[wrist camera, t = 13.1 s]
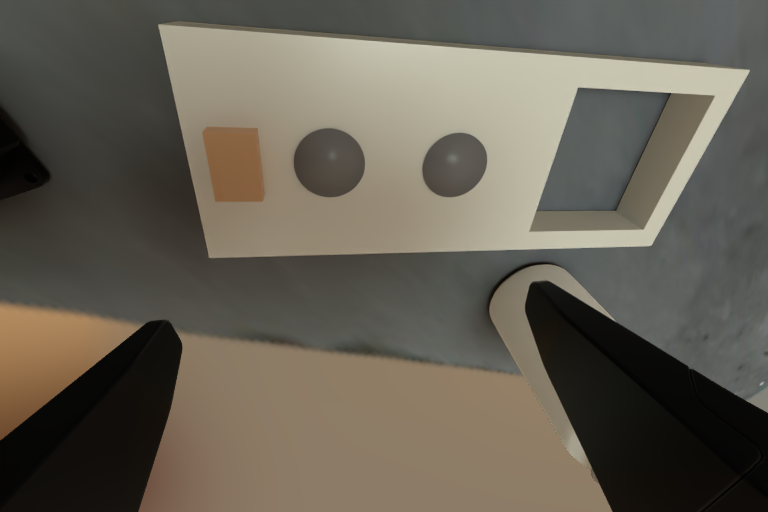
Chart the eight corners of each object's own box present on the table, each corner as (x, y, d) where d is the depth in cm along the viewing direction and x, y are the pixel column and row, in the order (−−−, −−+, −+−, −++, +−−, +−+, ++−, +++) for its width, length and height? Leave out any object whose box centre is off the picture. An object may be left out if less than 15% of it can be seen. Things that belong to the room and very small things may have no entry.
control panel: (219, 232, 21) (205, 267, 18) (178, 21, 15) (150, 25, 13) (623, 226, 25) (661, 252, 23) (705, 63, 20) (766, 72, 17)
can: (557, 244, 25) (714, 396, 16) (578, 301, 29) (715, 453, 19) (473, 290, 27) (570, 459, 17) (503, 339, 30) (597, 502, 20)
